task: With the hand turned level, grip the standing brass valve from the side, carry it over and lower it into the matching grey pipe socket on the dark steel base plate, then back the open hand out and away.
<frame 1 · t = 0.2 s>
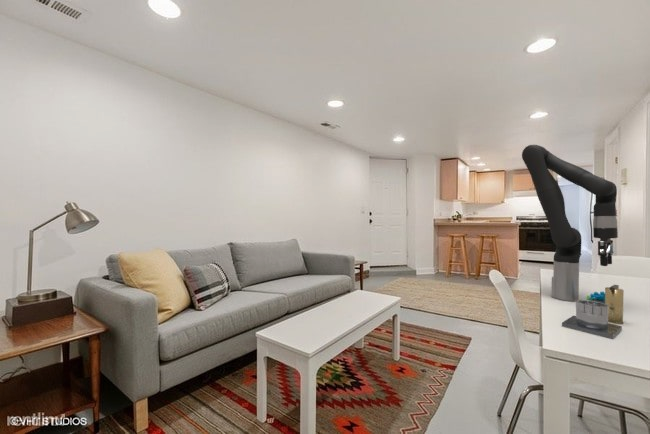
hand: (606, 265, 126), 18 cm above the table, tool pointing down, fingers open, 8 cm apart
pipe socket: (591, 327, 102), on the table
brass valve: (613, 321, 109), on the table
gear: (603, 308, 124), on the table
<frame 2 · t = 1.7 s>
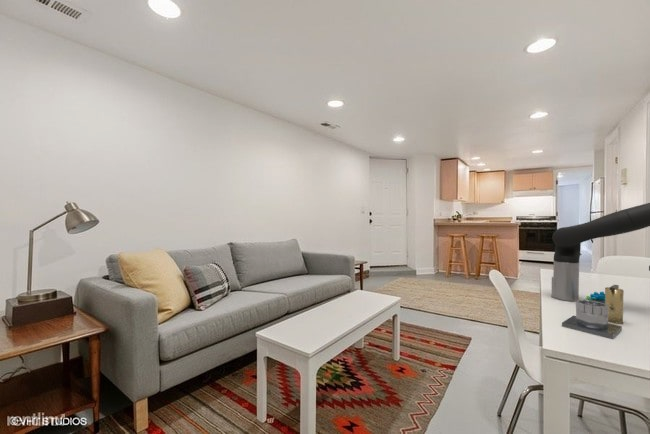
nothing on the table moved.
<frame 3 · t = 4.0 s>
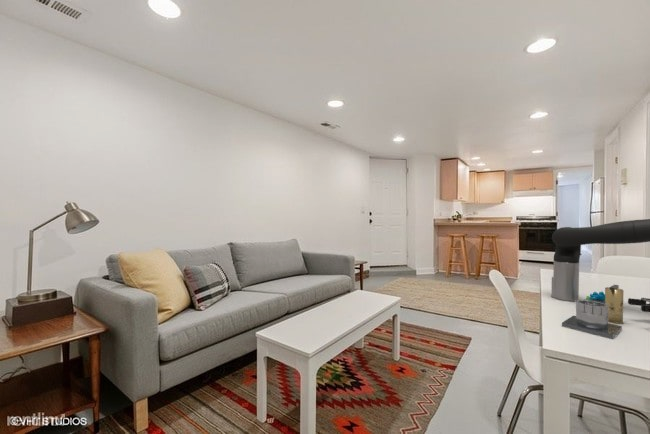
hand: (634, 304, 106), 7 cm above the table, tool horizontal, fingers open, 8 cm apart
nothing on the table moved.
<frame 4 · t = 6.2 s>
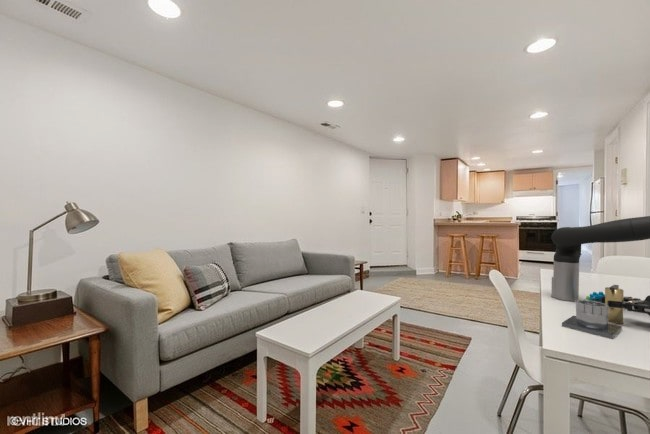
hand: (604, 301, 109), 7 cm above the table, tool horizontal, fingers closed on brass valve, 4 cm apart
brass valve: (613, 321, 108), on the table, touching gripper
everything else where it was.
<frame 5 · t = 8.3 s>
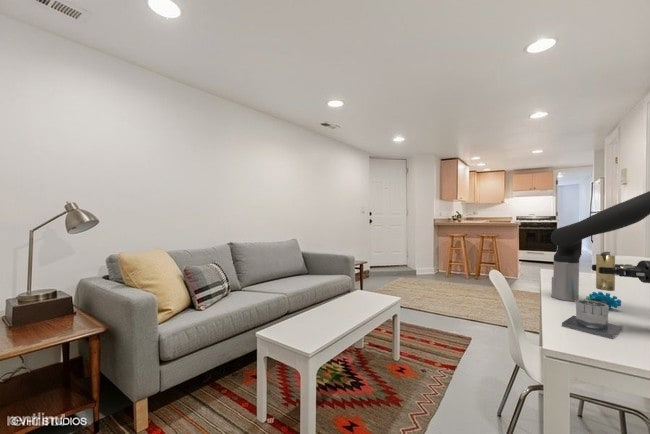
hand: (595, 268, 105), 20 cm above the table, tool horizontal, fingers closed on brass valve, 4 cm apart
brass valve: (605, 289, 105), point 13 cm above the table, touching gripper
everything else where it was.
when the fingers open (14 cm above the table, at t = 10.5 s): brass valve drops 1 cm, resting on pipe socket.
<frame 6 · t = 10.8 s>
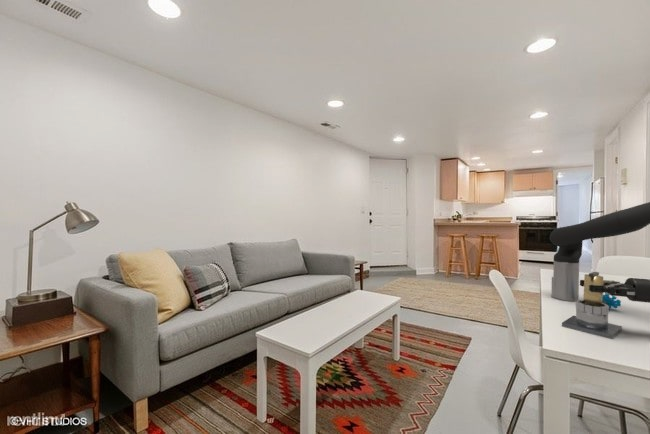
hand: (584, 285, 103), 15 cm above the table, tool horizontal, fingers open, 7 cm apart
brass valve: (592, 310, 102), point 6 cm above the table, touching pipe socket
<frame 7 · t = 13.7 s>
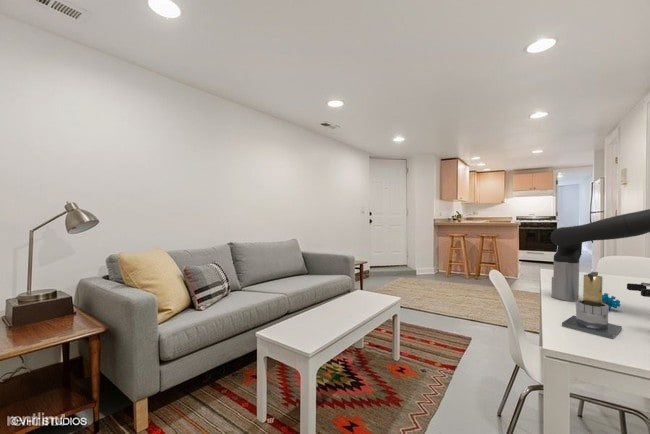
hand: (634, 289, 97), 15 cm above the table, tool horizontal, fingers open, 8 cm apart
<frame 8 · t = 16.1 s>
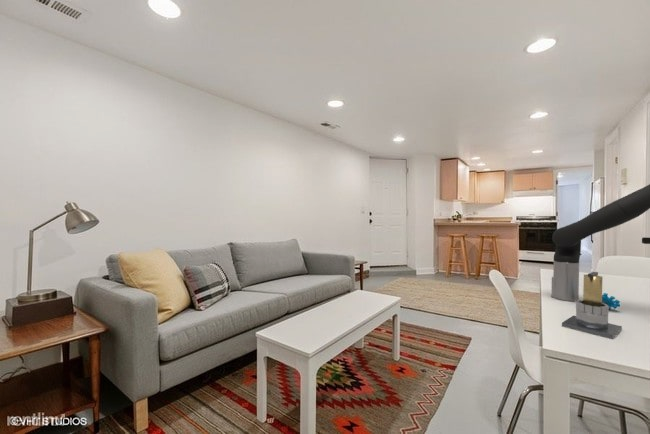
hand: (649, 241, 102), 30 cm above the table, tool horizontal, fingers open, 8 cm apart
at the end: brass valve 0.1 cm off-centre on the pipe socket, point 6.0 cm above the pipe socket's base; brass valve tilted 0°; the gripper is holding nothing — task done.
